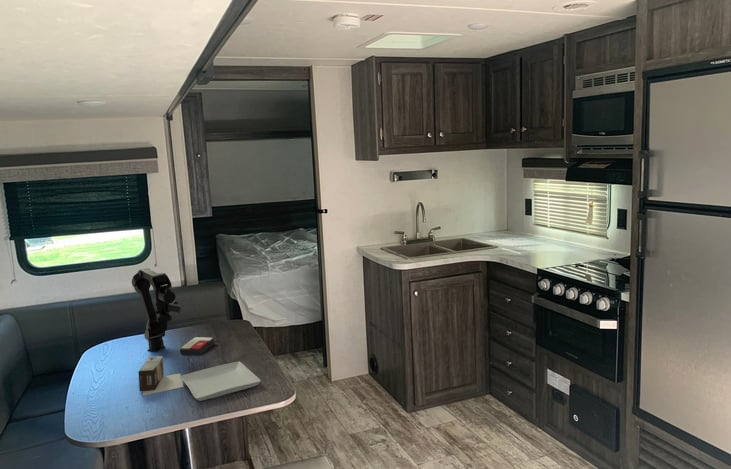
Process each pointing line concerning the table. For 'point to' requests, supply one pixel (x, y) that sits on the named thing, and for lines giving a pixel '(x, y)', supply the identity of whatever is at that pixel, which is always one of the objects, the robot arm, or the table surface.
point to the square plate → (219, 380)
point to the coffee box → (151, 373)
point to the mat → (167, 384)
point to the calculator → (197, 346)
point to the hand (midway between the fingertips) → (165, 330)
